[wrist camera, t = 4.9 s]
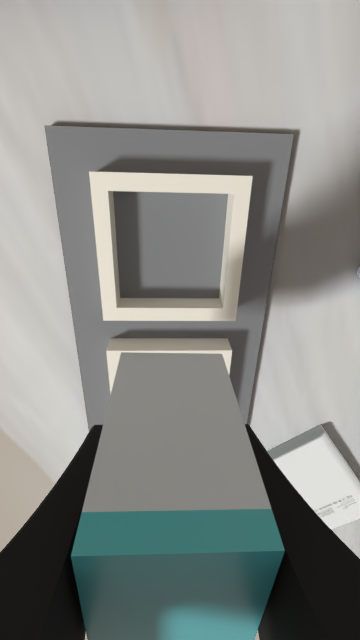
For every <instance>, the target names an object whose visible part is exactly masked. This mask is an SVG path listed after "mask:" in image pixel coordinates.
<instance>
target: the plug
mask: <svg viewBox="0 0 360 640" xmlns="http://www.w3.org/2000/svg"><path fill="white" fill-rule="evenodd" d="M284 552H285V549H284V546H283V543H282V540H281V537H280V534H279V531H278V528H277V524H276V521H275V518H274V515H273V512H272V509H271V506H270V502H269V499H268V496H267V493H266V490H265V487H264V484H263V480H262V477H261V474H260V471H259V468H258V465H257V462H256V458H255V455H254V452H253V449H252V446H251V443H250V440H249V437H248V433H247V430H246V427H245V424H244V421H243V418H242V415H241V411H240V408H239V405H238V402H237V399H236V396H235V393H234V389H233V386H232V383H231V380H230V377H229V374H228V371H227V367H226V364H225V361H224V358H223V355H222V354H205V353H132V352H121V355H120V359H119V363H118V367H117V371H116V375H115V379H114V383H113V387H112V391H111V395H110V399H109V404H108V408H107V412H106V416H105V420H104V424H103V428H102V432H101V436H100V440H99V444H98V448H97V452H96V456H95V460H94V464H93V468H92V472H91V477H90V481H89V485H88V489H87V493H86V497H85V501H84V505H83V509H82V513H81V517H80V521H79V525H78V529H77V533H76V537H75V541H74V545H73V550H72V554H71V560H72V565H73V570H74V575H75V580H76V584H77V589H78V594H79V599H80V604H81V609H82V614H83V619H84V624H85V629H86V634H87V639H88V640H254V639H255V636H256V633H257V630H258V627H259V625H260V622H261V619H262V616H263V613H264V610H265V607H266V604H267V601H268V598H269V596H270V593H271V590H272V587H273V584H274V581H275V578H276V575H277V572H278V569H279V567H280V564H281V561H282V558H283V555H284Z"/></svg>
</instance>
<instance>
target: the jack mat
mask: <svg viewBox="0 0 360 640" xmlns="http://www.w3.org/2000/svg"><path fill="white" fill-rule="evenodd" d="M45 132H46V139H47V146H48V153H49V160H50V167H51V173H52V180H53V187H54V194H55V201H56V208H57V215H58V222H59V228H60V235H61V242H62V249H63V256H64V263H65V270H66V277H67V283H68V290H69V297H70V304H71V311H72V318H73V325H74V331H75V338H76V345H77V352H78V359H79V366H80V373H81V380H82V386H83V393H84V400H85V407H86V414H87V421H88V428H89V432H90V430H91V428H92V427H93V426H94V425H103V424H104V420H105V416H106V412H107V408H108V404H109V399H110V385H109V374H108V364H107V354H106V350H107V347H108V344H109V341H110V338H228V341H229V343H230V346H231V349H232V357H231V365H230V374H229V377H230V380H231V383H232V386H233V389H234V393H235V396H236V399H237V402H238V405H239V408H240V411H241V415H242V418H243V421H244V424H247V420H248V414H249V408H250V402H251V395H252V389H253V383H254V377H255V371H256V365H257V358H258V352H259V346H260V340H261V334H262V328H263V321H264V315H265V309H266V303H267V297H268V291H269V284H270V278H271V272H272V266H273V260H274V254H275V248H276V241H277V235H278V229H279V223H280V217H281V211H282V204H283V198H284V192H285V186H286V180H287V174H288V167H289V161H290V155H291V149H292V143H293V137H294V134H276V133H247V132H219V131H190V130H161V129H132V128H103V127H74V126H46V125H45ZM89 171H90V172H126V173H163V174H199V175H236V176H253V178H252V186H251V195H250V203H249V212H248V220H247V229H246V237H245V246H244V254H243V263H242V271H241V280H240V289H239V297H238V306H237V314H236V321H103V312H102V302H101V291H100V281H99V271H98V260H97V250H96V240H95V229H94V219H93V209H92V198H91V188H90V177H89ZM113 197H114V212H115V227H116V242H117V257H118V272H119V287H120V298H219V293H220V281H221V270H222V258H223V247H224V235H225V224H226V212H227V201H228V194H215V193H174V192H133V191H113Z"/></svg>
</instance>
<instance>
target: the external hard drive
mask: <svg viewBox="0 0 360 640" xmlns="http://www.w3.org/2000/svg"><path fill="white" fill-rule="evenodd" d="M267 452H268V454H269V455H270V456H271V458H272V459H273V461H274V462H275V463H276V465H277V466H278V467H279V469H280V470H281V471H282V472H283V474H284V475H285V476H286V478H287V479H288V480H289V481H290V483H291V484H292V485H293V487H294V488H295V489H296V490H297V491H298V493H299V494H300V495H301V496H302V497H303V499H304V500H305V501H306V502H307V503H308V505H309V506H310V507H311V508H312V509H313V510H314V511H315V513H316V514H317V515H318V516H319V517H320V518H321V519H322V520H323V522H324V523H325V524H326V525H327V526H328V527H329V528H330V529H331V530H332V529H334V528H337V527H339V526H342V525H344V524H347V523H349V522H352V521H354V520H357V519H359V518H360V481H359V479H358V478H357V476H356V475H355V473H354V472H353V470H352V469H351V467H350V466H349V465H348V463H347V462H346V460H345V459H344V457H343V456H342V454H341V453H340V451H339V450H338V448H337V447H336V446H335V444H334V443H333V441H332V440H331V438H330V437H329V435H328V434H327V432H326V431H325V430H324V428H323V427H322V425H321V424H320V425H318V426H316V427H314V428H312V429H310V430H308V431H306V432H304V433H302V434H300V435H298V436H296V437H294V438H292V439H290V440H288V441H286V442H284V443H282V444H280V445H278V446H276V447H274V448H273V449H271V450H269V451H267Z"/></svg>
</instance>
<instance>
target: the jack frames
mask: <svg viewBox="0 0 360 640" xmlns="http://www.w3.org/2000/svg"><path fill="white" fill-rule="evenodd" d="M89 177H90V188H91V198H92V209H93V219H94V229H95V240H96V250H97V260H98V271H99V281H100V291H101V302H102V312H103V321H236V314H237V306H238V297H239V289H240V280H241V271H242V263H243V254H244V246H245V237H246V229H247V220H248V212H249V203H250V195H251V186H252V178H253V176H236V175H199V174H163V173H126V172H90V171H89ZM113 191H133V192H174V193H215V194H228V201H227V212H226V224H225V235H224V247H223V258H222V270H221V281H220V293H219V298H120V287H119V272H118V257H117V242H116V227H115V212H114V197H113ZM121 352H132V353H205V354H222V355H223V358H224V361H225V364H226V367H227V371H228V374H230V365H231V357H232V349H231V346H230V343H229V341H228V338H110V341H109V344H108V347H107V350H106V354H107V364H108V374H109V385H110V395H111V391H112V387H113V383H114V379H115V375H116V371H117V367H118V363H119V359H120V355H121Z"/></svg>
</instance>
